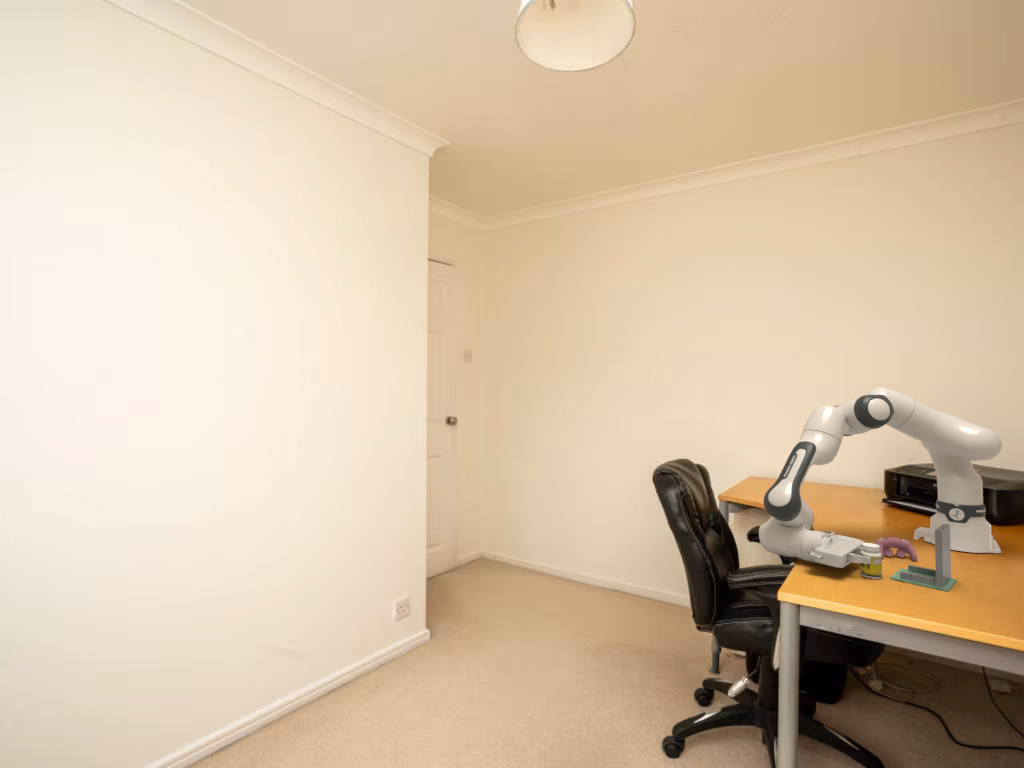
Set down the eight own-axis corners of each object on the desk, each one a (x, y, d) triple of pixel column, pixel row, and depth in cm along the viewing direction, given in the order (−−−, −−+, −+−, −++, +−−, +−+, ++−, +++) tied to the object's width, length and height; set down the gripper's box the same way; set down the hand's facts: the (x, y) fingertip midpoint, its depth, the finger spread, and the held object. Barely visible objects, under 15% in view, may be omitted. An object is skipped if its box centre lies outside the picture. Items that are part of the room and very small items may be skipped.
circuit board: (901, 569, 148) (901, 568, 148) (956, 581, 139) (956, 579, 139) (890, 579, 140) (890, 577, 140) (948, 591, 131) (948, 589, 131)
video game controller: (914, 564, 158) (909, 540, 161) (919, 561, 154) (914, 536, 157) (875, 561, 161) (871, 537, 164) (879, 558, 157) (875, 534, 160)
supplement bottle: (856, 573, 145) (855, 542, 145) (872, 573, 145) (872, 542, 145) (869, 579, 140) (869, 547, 140) (886, 579, 141) (885, 547, 141)
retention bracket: (909, 570, 146) (908, 518, 146) (951, 578, 139) (949, 524, 139) (899, 578, 139) (898, 524, 139) (943, 587, 133) (941, 531, 133)
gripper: (803, 543, 146) (862, 554, 135) (830, 529, 159) (885, 539, 149) (804, 566, 146) (862, 579, 135) (830, 551, 159) (885, 561, 149)
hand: (874, 558), depth 142 cm, fingers closed on supplement bottle, 5 cm apart
